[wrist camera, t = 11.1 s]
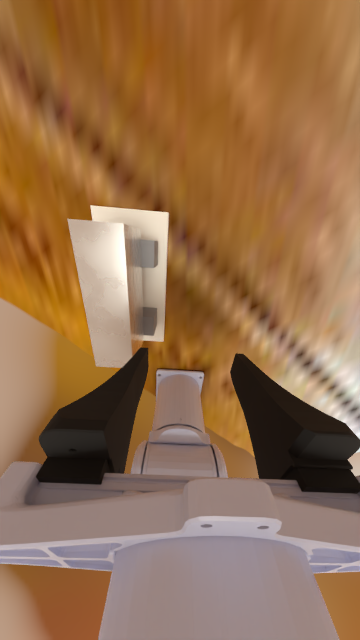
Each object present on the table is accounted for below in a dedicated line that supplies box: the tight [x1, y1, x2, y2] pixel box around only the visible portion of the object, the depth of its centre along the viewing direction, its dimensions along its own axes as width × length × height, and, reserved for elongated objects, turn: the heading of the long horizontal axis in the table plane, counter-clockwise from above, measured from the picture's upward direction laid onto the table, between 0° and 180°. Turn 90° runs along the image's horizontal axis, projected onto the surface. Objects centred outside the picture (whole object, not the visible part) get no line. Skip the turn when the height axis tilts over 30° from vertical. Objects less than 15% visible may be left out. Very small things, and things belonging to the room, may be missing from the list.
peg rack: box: [90, 205, 169, 342], centre depth 19 cm, size 16×8×4 cm, turn 175°
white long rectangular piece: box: [68, 219, 144, 368], centre depth 15 cm, size 12×4×5 cm, turn 176°
